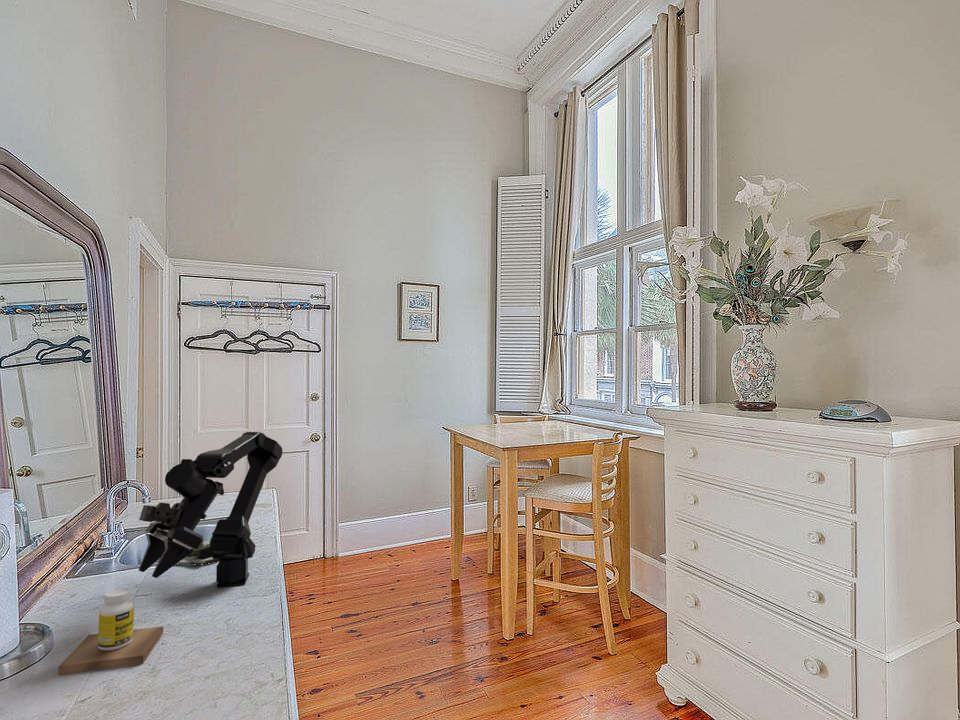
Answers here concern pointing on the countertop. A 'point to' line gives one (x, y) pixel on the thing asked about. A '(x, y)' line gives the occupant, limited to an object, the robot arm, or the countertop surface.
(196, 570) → the countertop surface
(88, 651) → the serving board
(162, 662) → the countertop surface
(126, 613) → the supplement bottle
